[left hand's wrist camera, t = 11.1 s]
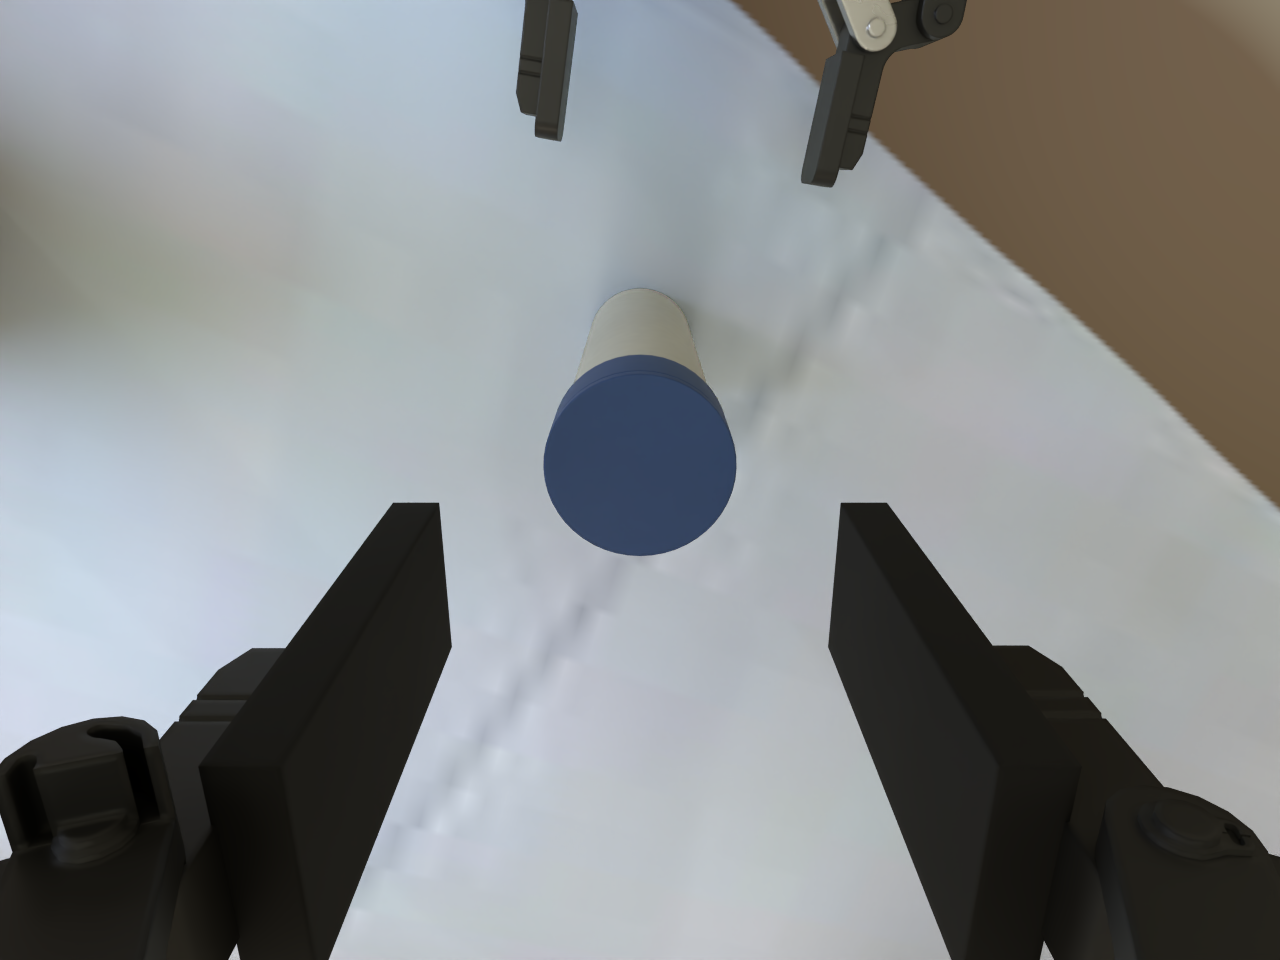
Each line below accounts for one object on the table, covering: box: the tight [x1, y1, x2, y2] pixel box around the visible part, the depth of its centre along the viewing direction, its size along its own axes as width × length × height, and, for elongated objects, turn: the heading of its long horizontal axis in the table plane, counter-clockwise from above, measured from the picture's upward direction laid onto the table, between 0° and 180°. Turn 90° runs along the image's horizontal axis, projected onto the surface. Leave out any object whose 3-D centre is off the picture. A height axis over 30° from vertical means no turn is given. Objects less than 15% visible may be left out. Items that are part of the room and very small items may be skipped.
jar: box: [574, 288, 706, 383], centre depth 27 cm, size 4×4×15 cm
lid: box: [544, 355, 736, 556], centre depth 20 cm, size 4×4×2 cm
